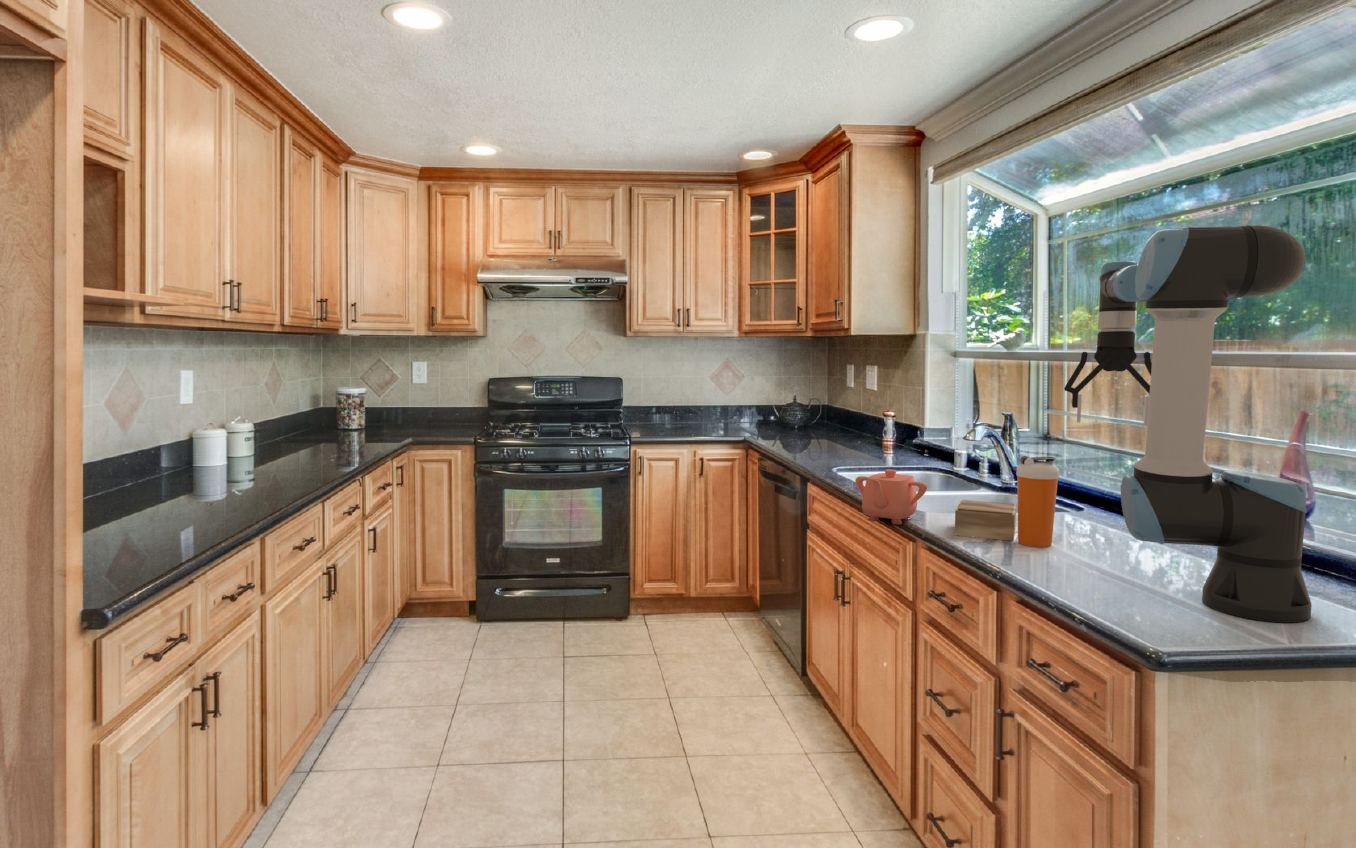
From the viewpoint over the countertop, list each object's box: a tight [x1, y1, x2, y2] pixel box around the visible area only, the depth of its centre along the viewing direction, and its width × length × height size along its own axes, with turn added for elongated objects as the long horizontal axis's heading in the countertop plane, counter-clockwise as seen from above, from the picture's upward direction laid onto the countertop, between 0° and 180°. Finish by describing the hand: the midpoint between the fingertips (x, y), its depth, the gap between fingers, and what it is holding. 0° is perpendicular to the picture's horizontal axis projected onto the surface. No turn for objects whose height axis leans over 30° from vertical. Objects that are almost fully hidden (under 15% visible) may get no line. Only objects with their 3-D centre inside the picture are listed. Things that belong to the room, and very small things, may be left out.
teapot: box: [855, 468, 928, 525], centre depth 204 cm, size 17×16×13 cm
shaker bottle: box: [1016, 455, 1060, 548], centre depth 178 cm, size 9×9×20 cm
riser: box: [954, 499, 1017, 542], centre depth 190 cm, size 13×13×6 cm
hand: (1111, 423), depth 180 cm, fingers open, 13 cm apart
